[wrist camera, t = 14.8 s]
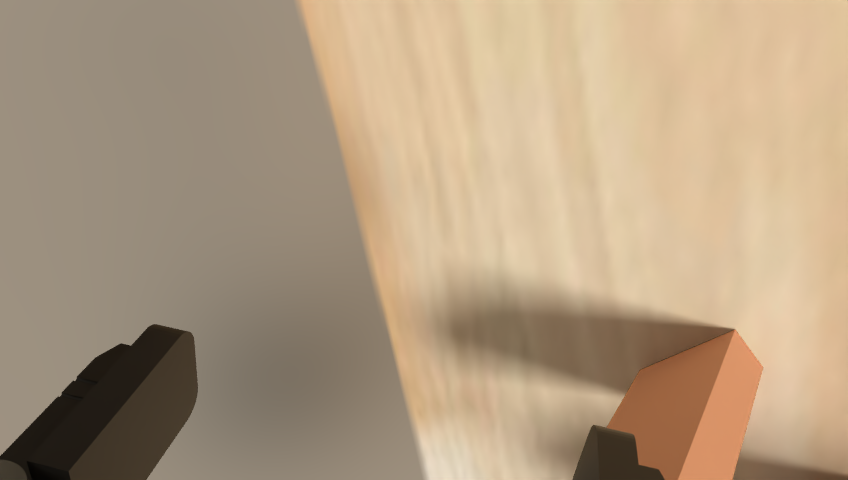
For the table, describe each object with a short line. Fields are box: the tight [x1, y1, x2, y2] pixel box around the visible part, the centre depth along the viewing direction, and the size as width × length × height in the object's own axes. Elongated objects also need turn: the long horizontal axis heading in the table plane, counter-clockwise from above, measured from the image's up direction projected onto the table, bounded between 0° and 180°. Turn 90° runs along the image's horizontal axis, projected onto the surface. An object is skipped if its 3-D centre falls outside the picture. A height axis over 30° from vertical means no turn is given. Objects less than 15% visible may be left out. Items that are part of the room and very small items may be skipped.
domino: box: [607, 330, 763, 480], centre depth 25 cm, size 2×5×11 cm, turn 132°
